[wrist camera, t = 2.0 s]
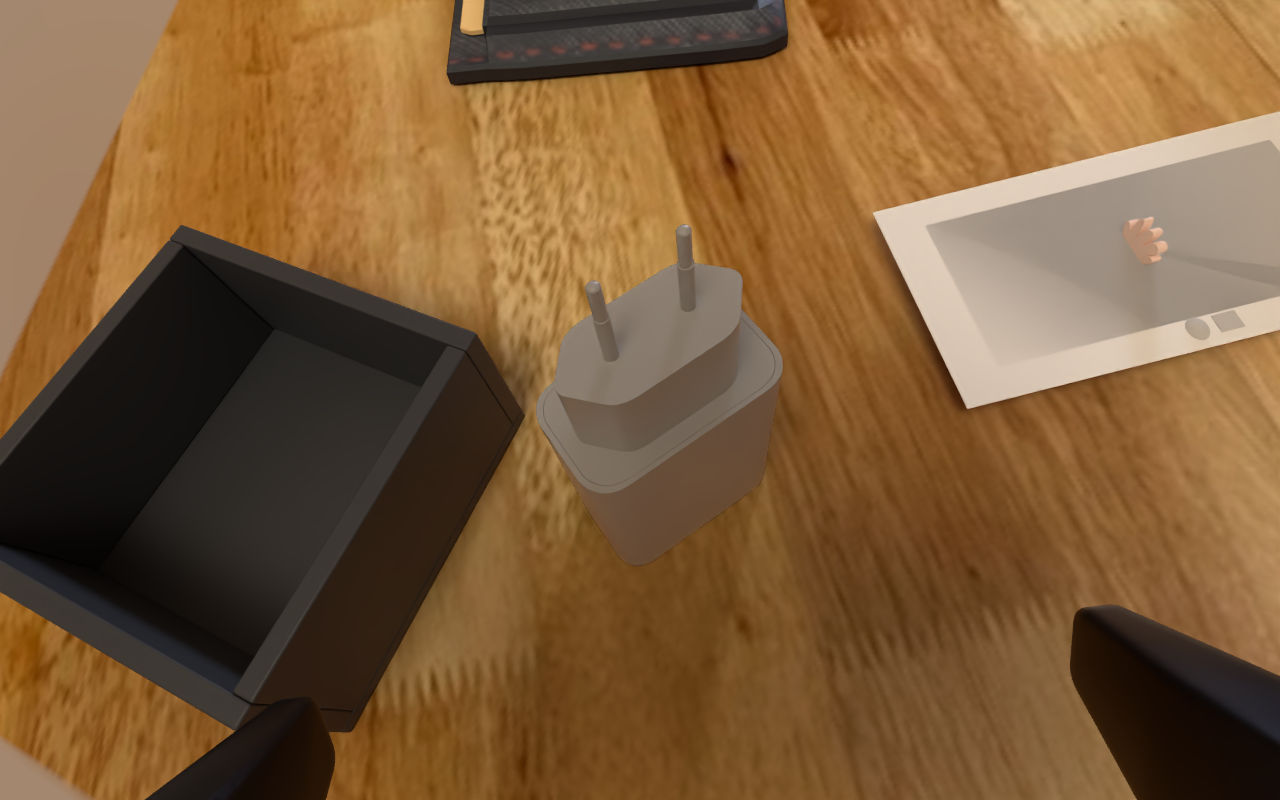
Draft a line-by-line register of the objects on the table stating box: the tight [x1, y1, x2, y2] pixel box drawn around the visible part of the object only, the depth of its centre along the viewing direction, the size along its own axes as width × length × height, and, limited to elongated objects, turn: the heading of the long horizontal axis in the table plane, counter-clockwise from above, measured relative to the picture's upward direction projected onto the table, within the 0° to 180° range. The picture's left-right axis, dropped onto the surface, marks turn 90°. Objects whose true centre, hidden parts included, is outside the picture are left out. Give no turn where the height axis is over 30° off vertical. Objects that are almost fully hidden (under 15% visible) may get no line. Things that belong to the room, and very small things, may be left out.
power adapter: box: [536, 225, 783, 566], centre depth 17 cm, size 3×5×12 cm, turn 124°
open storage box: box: [0, 225, 524, 732], centre depth 21 cm, size 11×11×6 cm
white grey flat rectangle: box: [873, 111, 1280, 409], centre depth 24 cm, size 8×15×2 cm, turn 103°
